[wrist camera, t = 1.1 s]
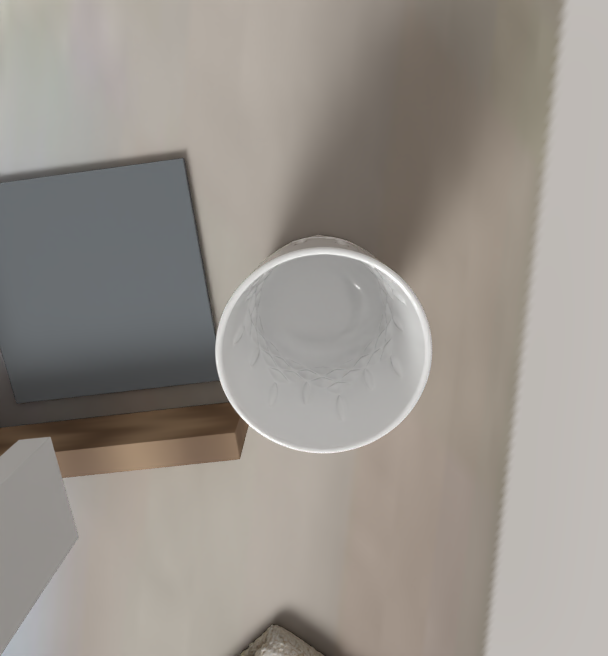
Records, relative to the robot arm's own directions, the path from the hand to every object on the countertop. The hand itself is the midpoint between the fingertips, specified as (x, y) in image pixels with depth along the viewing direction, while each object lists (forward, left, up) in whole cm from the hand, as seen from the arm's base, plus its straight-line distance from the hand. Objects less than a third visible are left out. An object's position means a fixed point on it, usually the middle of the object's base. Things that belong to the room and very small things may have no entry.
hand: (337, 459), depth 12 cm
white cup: (0, 0, -18) cm, 18 cm away
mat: (-12, +2, -17) cm, 21 cm away
